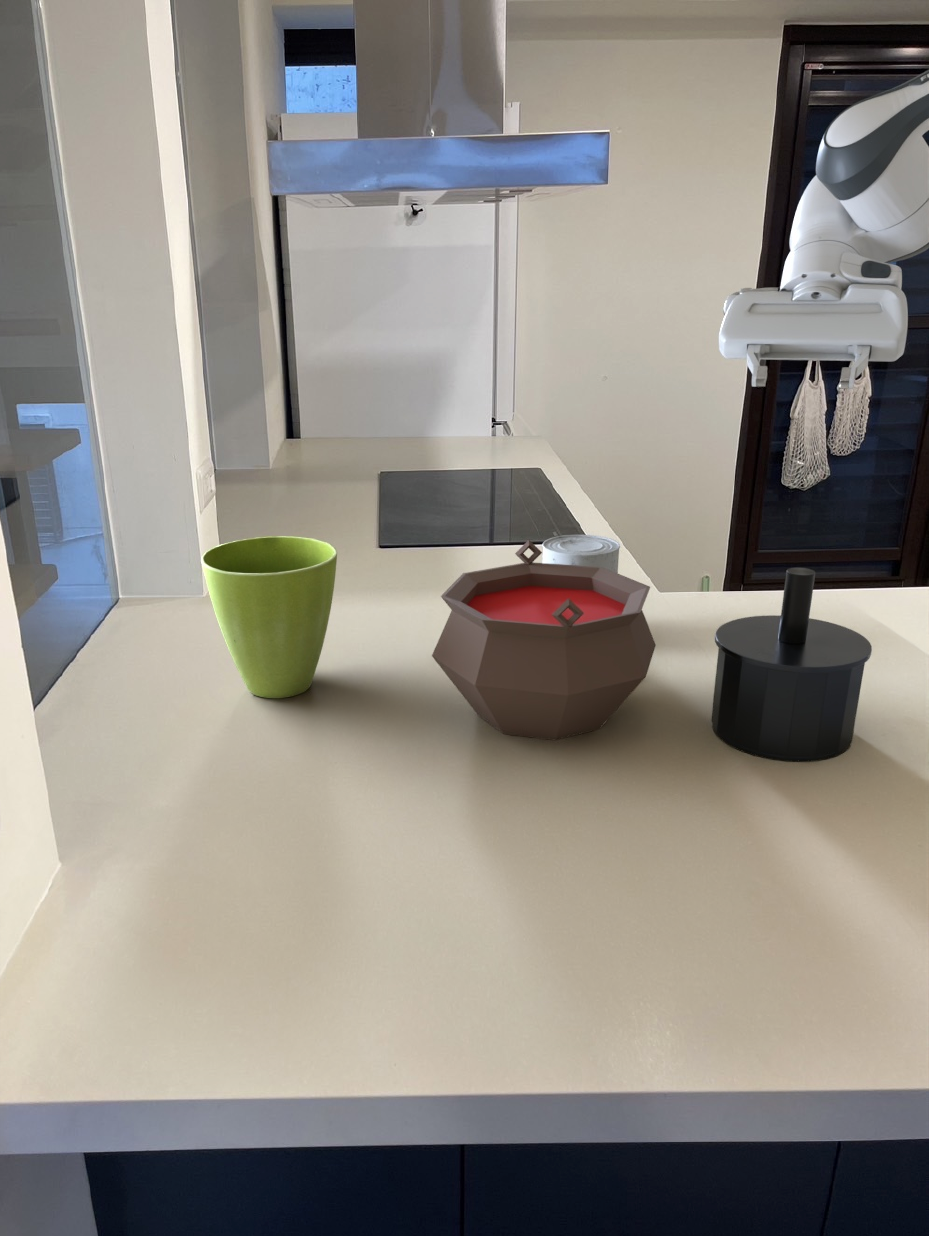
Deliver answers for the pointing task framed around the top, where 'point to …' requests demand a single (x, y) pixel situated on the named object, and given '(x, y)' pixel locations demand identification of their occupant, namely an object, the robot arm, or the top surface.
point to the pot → (784, 710)
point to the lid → (794, 635)
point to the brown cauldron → (545, 645)
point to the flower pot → (273, 608)
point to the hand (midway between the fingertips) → (801, 384)
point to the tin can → (582, 551)
